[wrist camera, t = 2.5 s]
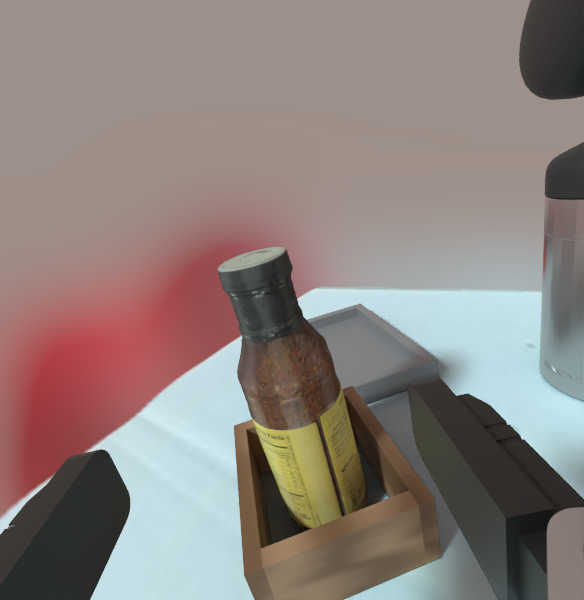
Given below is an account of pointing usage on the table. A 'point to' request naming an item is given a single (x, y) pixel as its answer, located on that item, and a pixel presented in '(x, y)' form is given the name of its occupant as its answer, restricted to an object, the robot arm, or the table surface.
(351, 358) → the serving tray
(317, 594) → the condiment box
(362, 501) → the sauce bottle
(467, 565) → the table surface
